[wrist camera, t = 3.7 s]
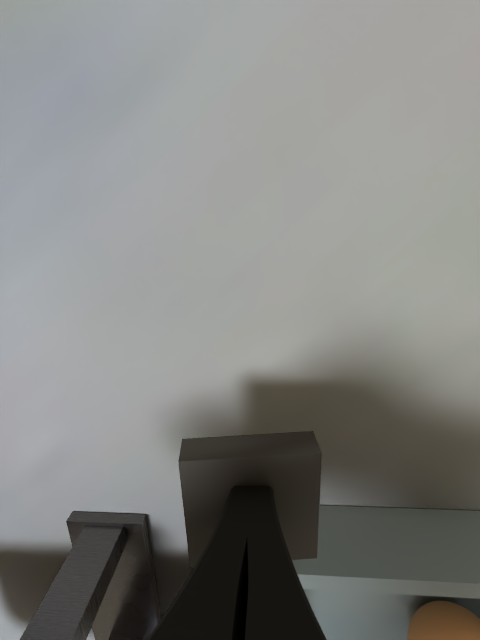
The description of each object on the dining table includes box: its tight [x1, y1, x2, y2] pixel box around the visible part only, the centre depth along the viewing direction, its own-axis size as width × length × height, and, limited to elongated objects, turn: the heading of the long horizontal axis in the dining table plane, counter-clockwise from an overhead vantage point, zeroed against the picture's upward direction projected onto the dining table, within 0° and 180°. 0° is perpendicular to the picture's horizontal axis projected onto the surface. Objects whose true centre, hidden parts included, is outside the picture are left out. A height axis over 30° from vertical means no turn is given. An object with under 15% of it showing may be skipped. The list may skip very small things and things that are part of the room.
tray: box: [292, 505, 480, 640], centre depth 17 cm, size 12×12×4 cm
